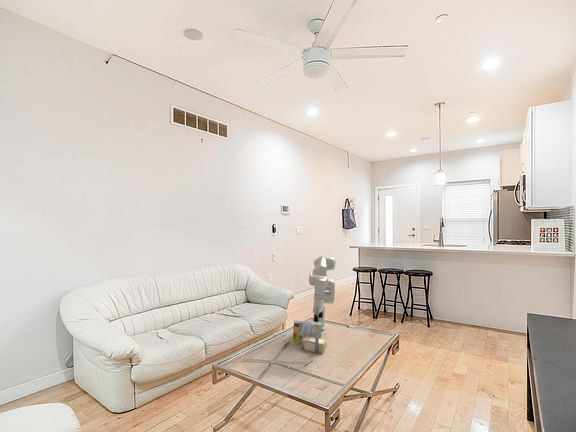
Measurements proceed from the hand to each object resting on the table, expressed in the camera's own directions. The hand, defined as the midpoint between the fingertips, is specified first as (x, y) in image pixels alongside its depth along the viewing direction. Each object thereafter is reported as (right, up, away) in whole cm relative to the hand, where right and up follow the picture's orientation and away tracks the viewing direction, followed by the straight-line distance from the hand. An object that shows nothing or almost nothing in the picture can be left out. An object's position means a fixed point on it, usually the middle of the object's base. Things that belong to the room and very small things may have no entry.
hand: (318, 319), depth 224 cm
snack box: (-7, -23, +19) cm, 31 cm away
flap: (-6, -23, +3) cm, 24 cm away
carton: (-2, -24, +8) cm, 25 cm away
